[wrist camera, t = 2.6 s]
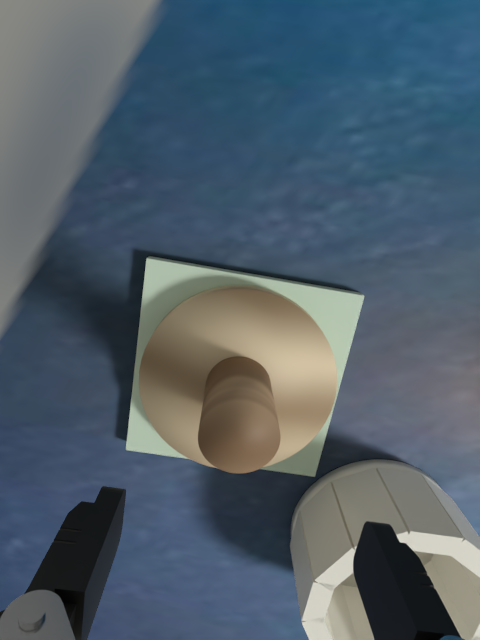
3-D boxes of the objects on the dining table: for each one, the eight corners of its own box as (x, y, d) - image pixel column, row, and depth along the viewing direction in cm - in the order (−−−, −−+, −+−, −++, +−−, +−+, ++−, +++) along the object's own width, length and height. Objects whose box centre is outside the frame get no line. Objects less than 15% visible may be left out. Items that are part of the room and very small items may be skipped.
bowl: (310, 448, 26) (331, 520, 20) (472, 472, 26) (538, 548, 20) (276, 577, 29) (286, 672, 23) (421, 595, 29) (466, 692, 24)
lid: (154, 268, 21) (123, 295, 15) (353, 303, 22) (397, 341, 16) (134, 443, 24) (102, 522, 18) (308, 469, 25) (331, 552, 19)
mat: (149, 256, 22) (146, 258, 21) (360, 292, 23) (364, 295, 22) (129, 442, 25) (125, 449, 25) (312, 468, 26) (314, 476, 25)
